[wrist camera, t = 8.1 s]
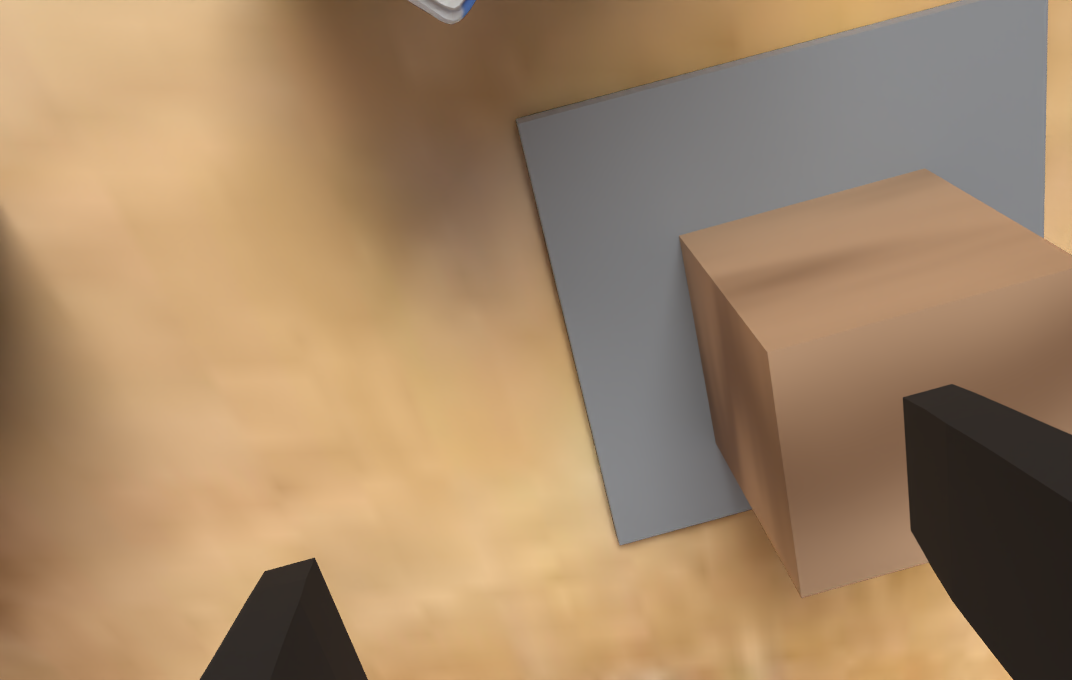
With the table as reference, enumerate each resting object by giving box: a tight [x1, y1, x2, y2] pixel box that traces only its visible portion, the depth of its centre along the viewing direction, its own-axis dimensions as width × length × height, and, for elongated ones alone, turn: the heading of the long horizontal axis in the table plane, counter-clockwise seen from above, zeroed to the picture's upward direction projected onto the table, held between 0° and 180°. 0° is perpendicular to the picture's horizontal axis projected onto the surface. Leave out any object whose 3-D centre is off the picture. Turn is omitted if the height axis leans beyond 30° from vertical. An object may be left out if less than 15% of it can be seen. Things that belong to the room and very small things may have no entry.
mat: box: [516, 0, 1048, 545], centre depth 22 cm, size 11×11×1 cm
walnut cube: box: [679, 168, 1072, 598], centre depth 20 cm, size 6×6×6 cm
